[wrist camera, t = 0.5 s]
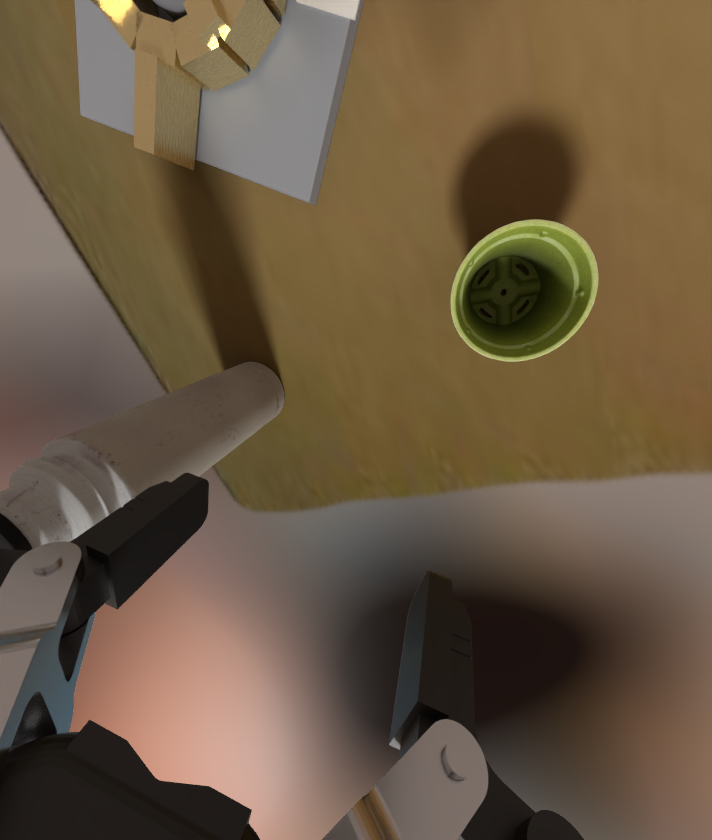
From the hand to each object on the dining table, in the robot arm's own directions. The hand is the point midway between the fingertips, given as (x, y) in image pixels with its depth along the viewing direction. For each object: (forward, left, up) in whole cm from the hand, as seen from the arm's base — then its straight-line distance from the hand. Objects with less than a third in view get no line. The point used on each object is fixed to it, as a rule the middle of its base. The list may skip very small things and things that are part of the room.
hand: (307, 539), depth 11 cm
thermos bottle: (+12, -16, -28) cm, 34 cm away
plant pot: (-9, +6, -28) cm, 30 cm away
